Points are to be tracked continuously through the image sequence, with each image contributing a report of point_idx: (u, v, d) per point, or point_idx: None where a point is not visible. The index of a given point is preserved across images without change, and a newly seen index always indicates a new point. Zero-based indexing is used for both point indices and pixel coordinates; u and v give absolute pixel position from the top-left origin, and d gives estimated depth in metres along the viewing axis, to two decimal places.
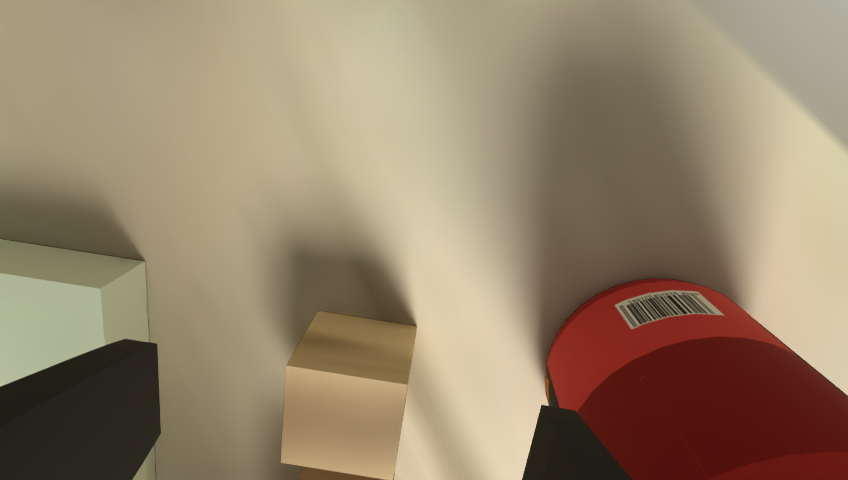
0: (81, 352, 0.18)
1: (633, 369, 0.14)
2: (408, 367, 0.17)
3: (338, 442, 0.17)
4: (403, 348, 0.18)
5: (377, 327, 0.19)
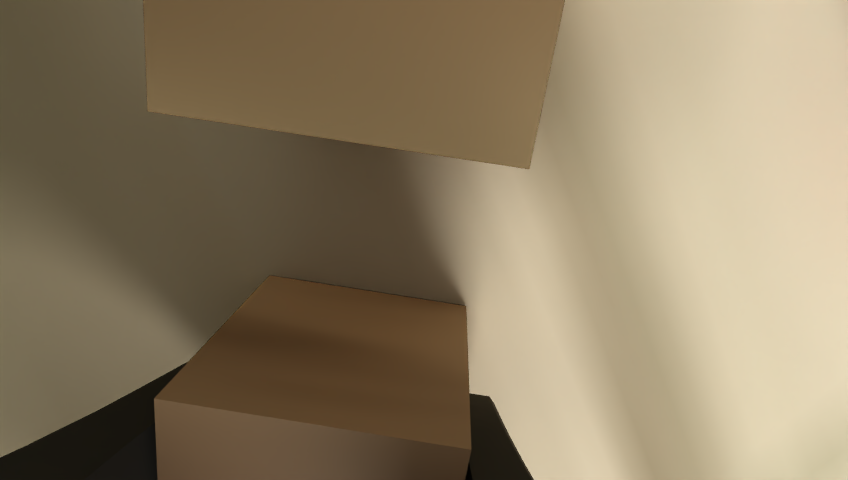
0: None
1: None
2: None
3: (344, 7, 0.05)
4: None
5: None
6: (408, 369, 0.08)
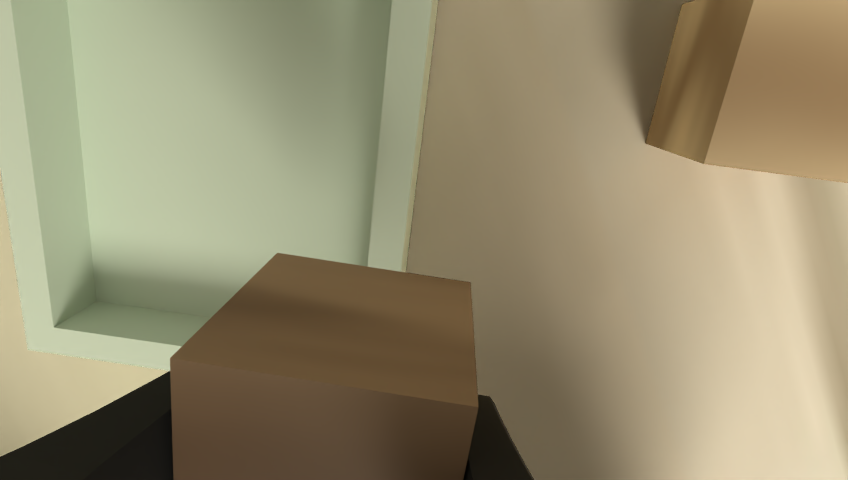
0: (390, 29, 0.13)
1: None
2: None
3: (806, 121, 0.11)
4: None
5: None
6: (415, 336, 0.08)
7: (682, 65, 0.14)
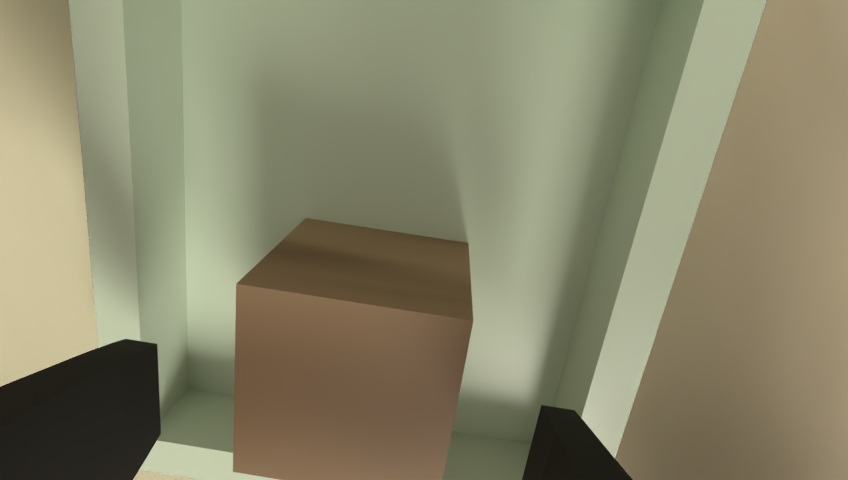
0: (685, 54, 0.09)
1: None
2: None
3: None
4: None
5: None
6: (423, 276, 0.10)
7: None
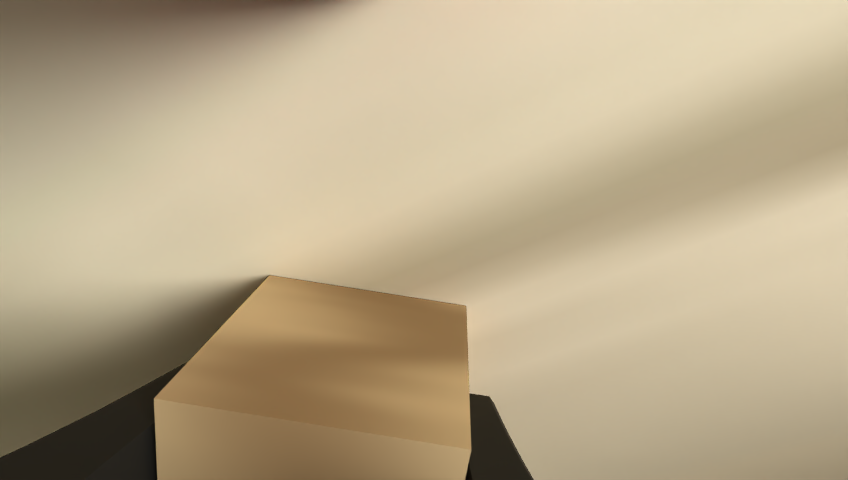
0: None
1: None
2: (194, 359, 0.07)
3: None
4: None
5: None
6: None
7: None
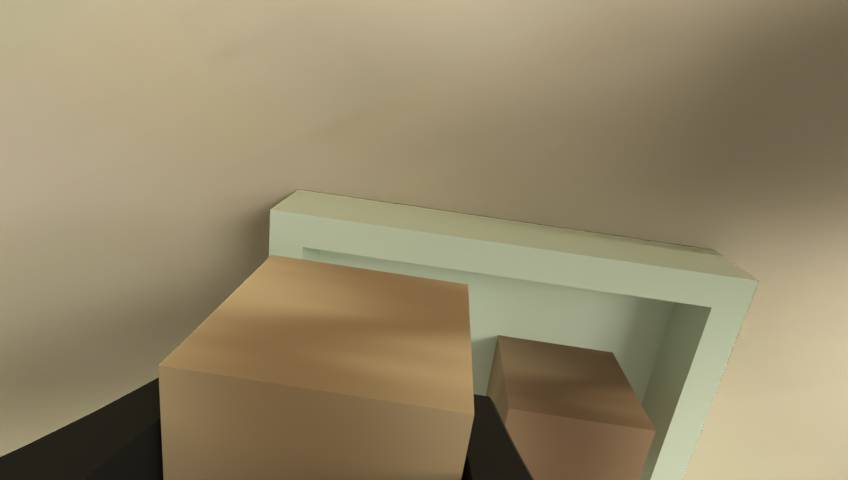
0: (364, 254, 0.15)
1: None
2: (197, 330, 0.07)
3: None
4: None
5: None
6: (498, 402, 0.15)
7: None
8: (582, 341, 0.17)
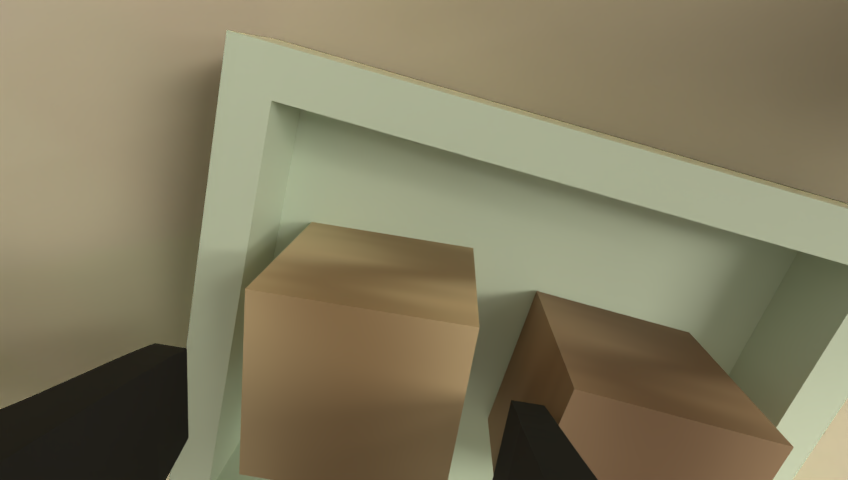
0: (366, 126, 0.09)
1: None
2: (266, 270, 0.09)
3: (390, 415, 0.09)
4: None
5: None
6: (541, 381, 0.10)
7: None
8: (648, 311, 0.12)
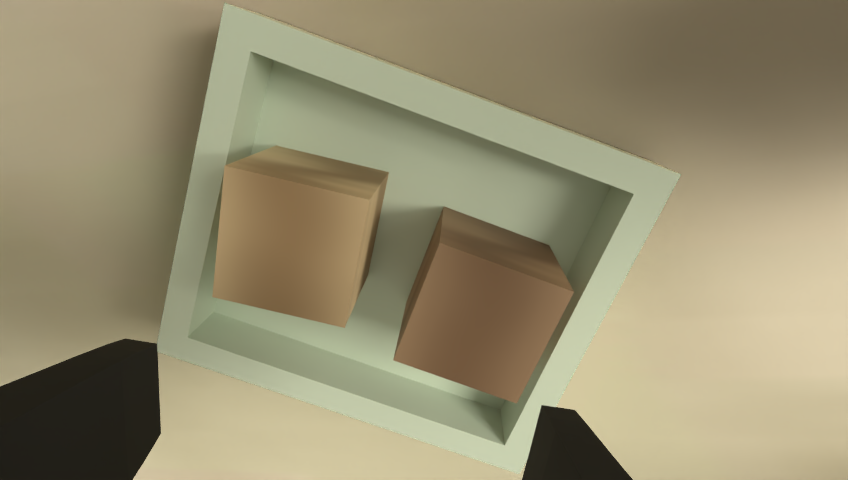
0: (311, 73, 0.14)
1: None
2: (239, 161, 0.14)
3: (313, 257, 0.14)
4: None
5: None
6: (431, 253, 0.15)
7: None
8: (509, 226, 0.17)
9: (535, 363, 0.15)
